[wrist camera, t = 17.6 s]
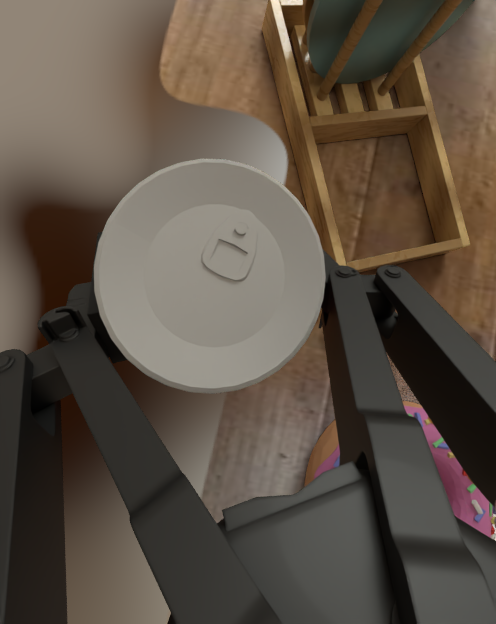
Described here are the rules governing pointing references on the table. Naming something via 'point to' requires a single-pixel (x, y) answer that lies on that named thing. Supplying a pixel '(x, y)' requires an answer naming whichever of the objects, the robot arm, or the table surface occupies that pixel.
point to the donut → (455, 480)
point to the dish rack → (353, 119)
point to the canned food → (209, 276)
